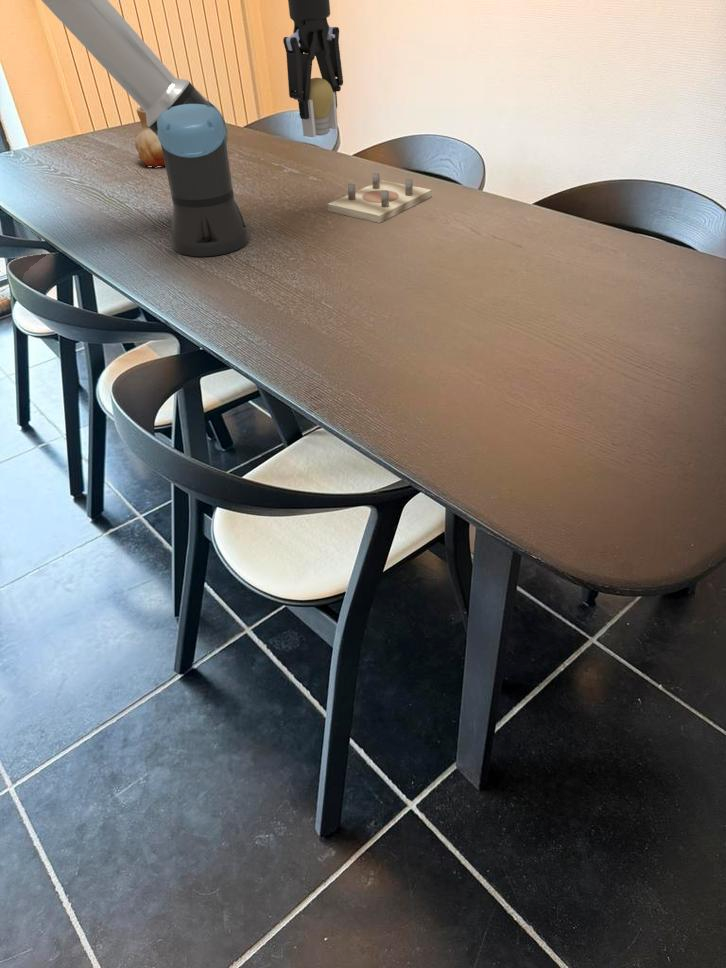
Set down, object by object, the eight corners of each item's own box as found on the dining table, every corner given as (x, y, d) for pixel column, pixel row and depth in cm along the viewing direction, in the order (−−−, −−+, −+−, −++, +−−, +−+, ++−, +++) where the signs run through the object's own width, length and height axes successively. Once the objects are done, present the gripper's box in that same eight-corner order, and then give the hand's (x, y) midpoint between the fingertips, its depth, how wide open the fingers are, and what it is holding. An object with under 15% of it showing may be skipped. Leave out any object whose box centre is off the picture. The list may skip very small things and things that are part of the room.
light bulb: (338, 129, 139) (334, 73, 132) (334, 137, 134) (329, 80, 127) (308, 130, 140) (302, 75, 133) (303, 139, 135) (296, 82, 128)
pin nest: (379, 223, 139) (379, 200, 137) (327, 211, 146) (326, 189, 143) (431, 196, 151) (432, 175, 148) (381, 186, 158) (381, 166, 155)
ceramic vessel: (231, 148, 190) (222, 87, 180) (165, 172, 173) (152, 107, 163) (195, 142, 195) (184, 83, 186) (127, 166, 179) (112, 102, 169)
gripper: (287, -1, 114) (303, 146, 129) (356, -14, 125) (364, 122, 140) (256, -2, 118) (275, 141, 133) (325, -14, 129) (336, 119, 144)
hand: (320, 131), depth 136 cm, fingers closed on light bulb, 6 cm apart
